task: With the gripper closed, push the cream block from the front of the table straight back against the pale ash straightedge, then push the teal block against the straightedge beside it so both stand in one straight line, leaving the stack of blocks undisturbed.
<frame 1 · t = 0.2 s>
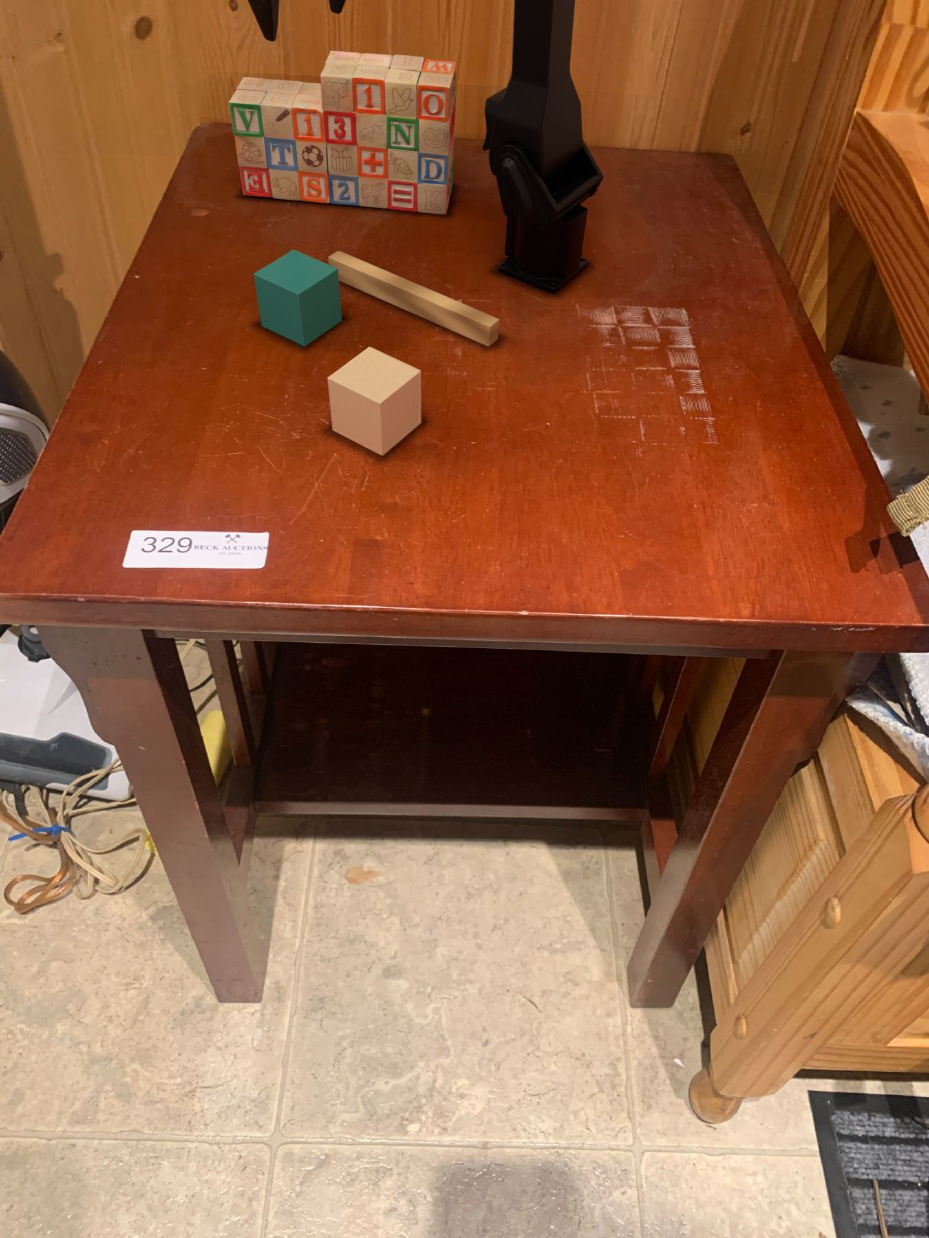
hand: (304, 26, 86), 15 cm above the table, tool pointing down, fingers open, 9 cm apart
rail: (411, 307, 83), on the table
stack of blocks: (349, 194, 96), on the table
teal block: (302, 323, 81), on the table
cream block: (377, 426, 72), on the table
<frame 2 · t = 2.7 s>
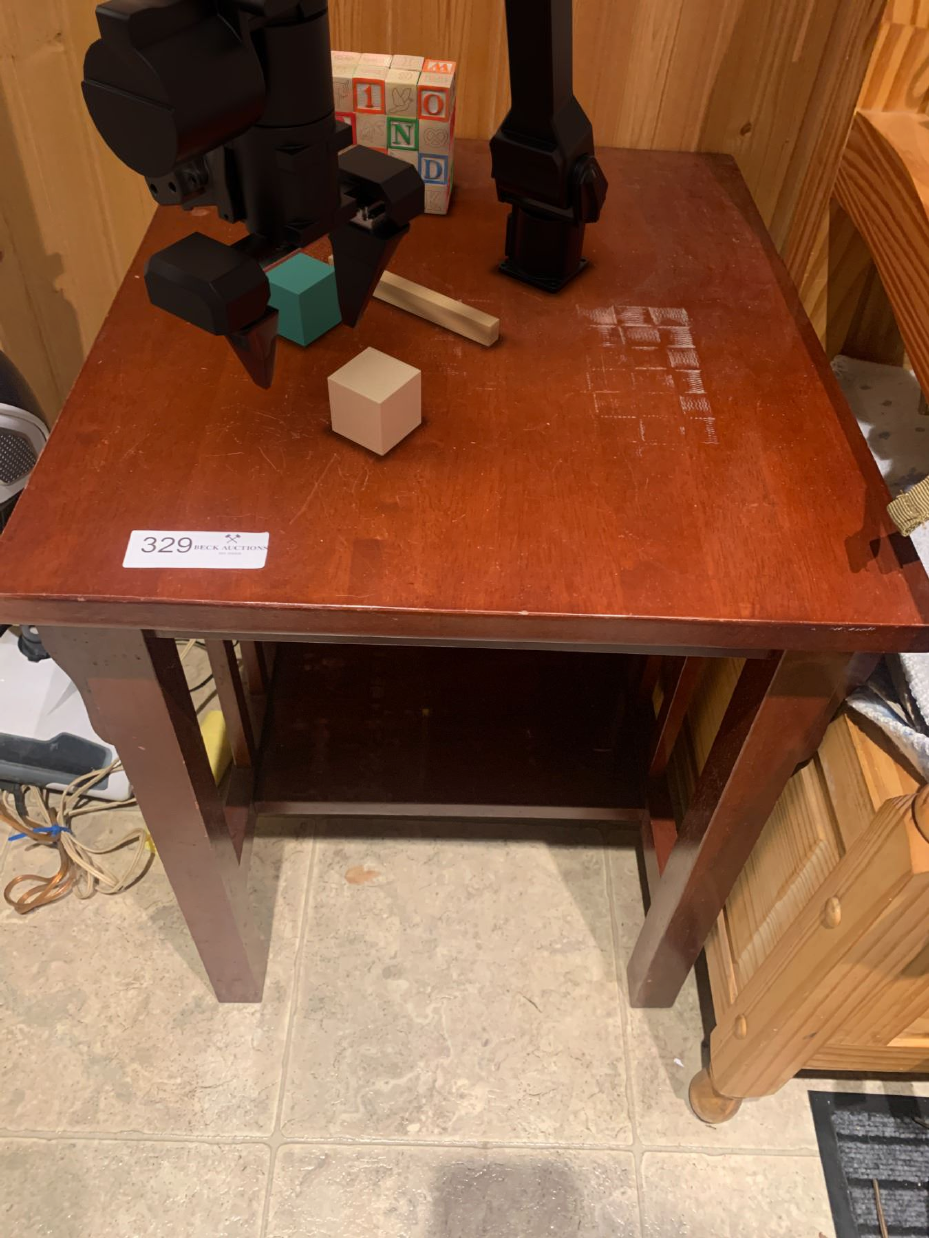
hand: (308, 354, 61), 10 cm above the table, tool pointing down, fingers open, 8 cm apart
nothing on the table moved.
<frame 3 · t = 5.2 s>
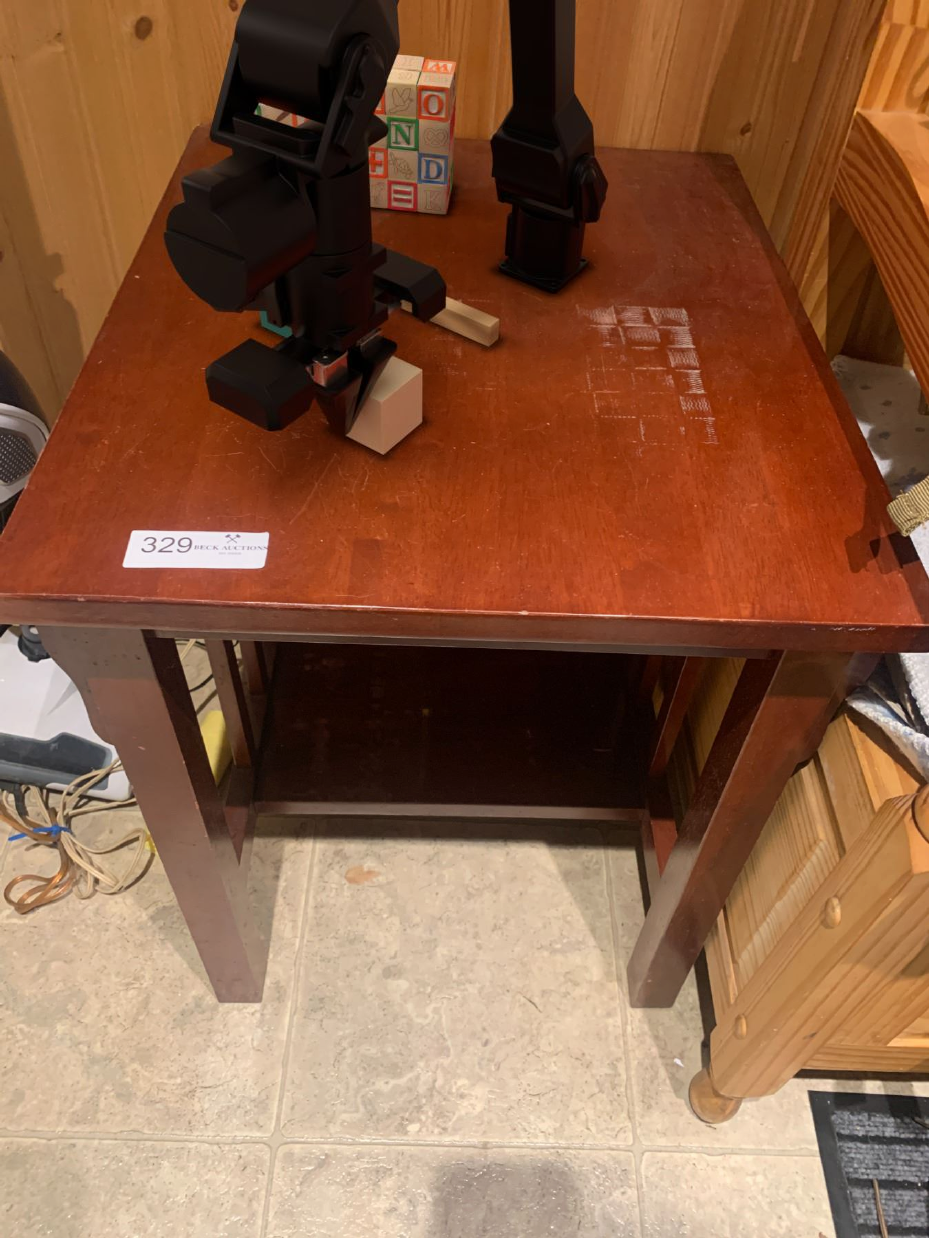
hand: (341, 432, 68), 2 cm above the table, tool pointing down, fingers closed
cream block: (378, 426, 72), on the table, touching gripper
everything else where it was.
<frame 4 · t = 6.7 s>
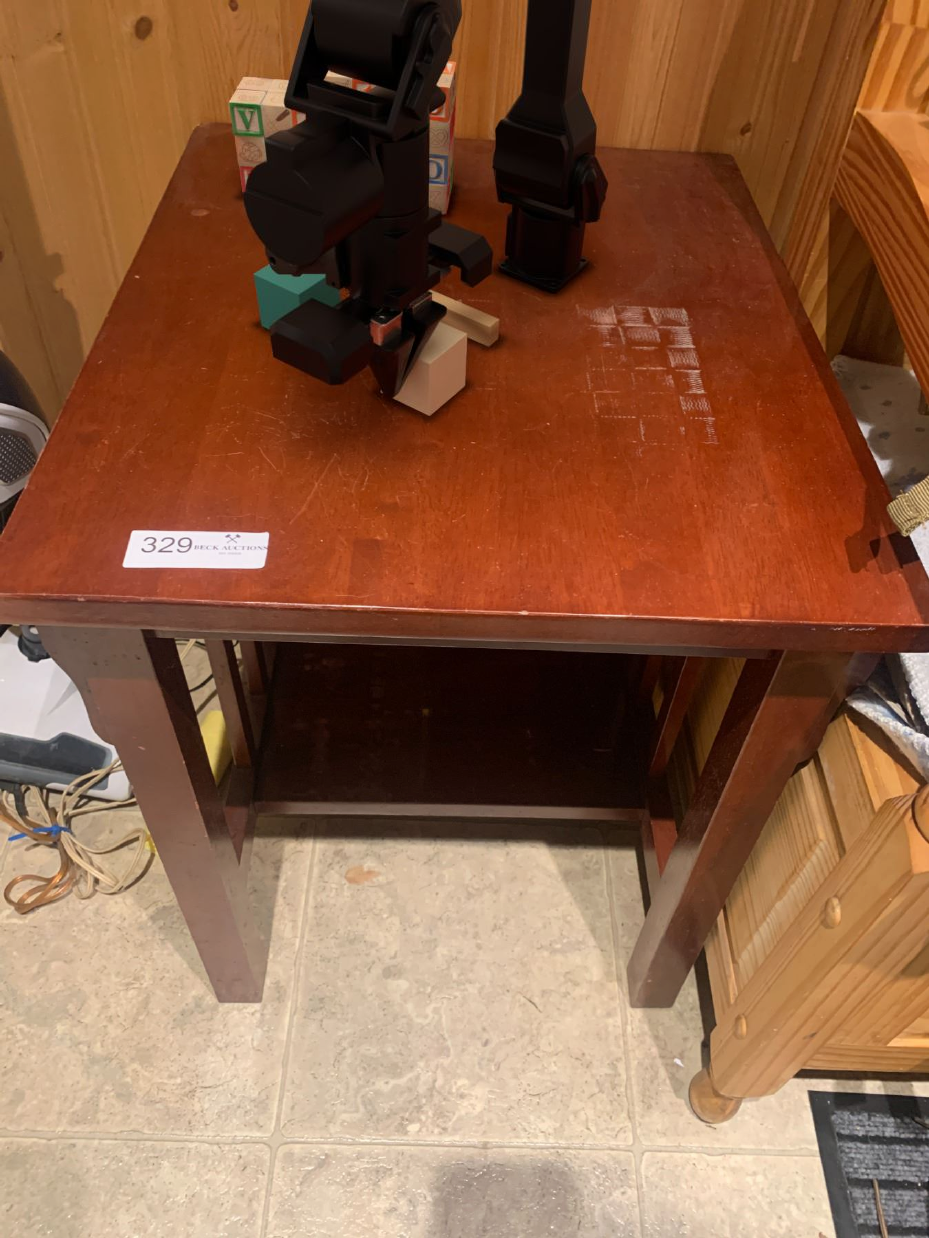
hand: (390, 394, 72), 2 cm above the table, tool pointing down, fingers closed
cream block: (423, 389, 75), on the table, touching gripper
everything else where it was.
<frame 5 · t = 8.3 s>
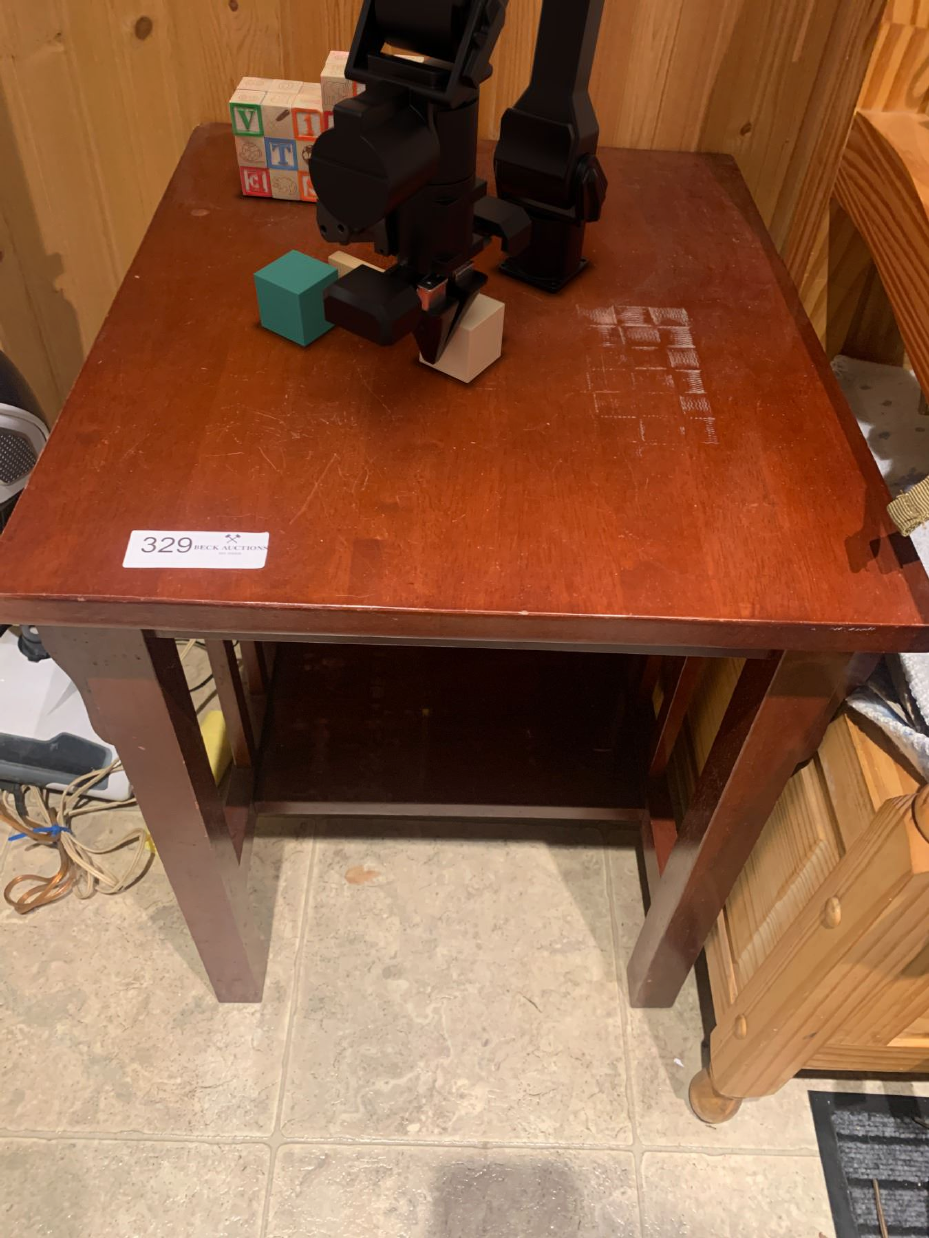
hand: (431, 361, 74), 2 cm above the table, tool pointing down, fingers closed
cream block: (460, 358, 78), on the table, touching gripper
everything else where it was.
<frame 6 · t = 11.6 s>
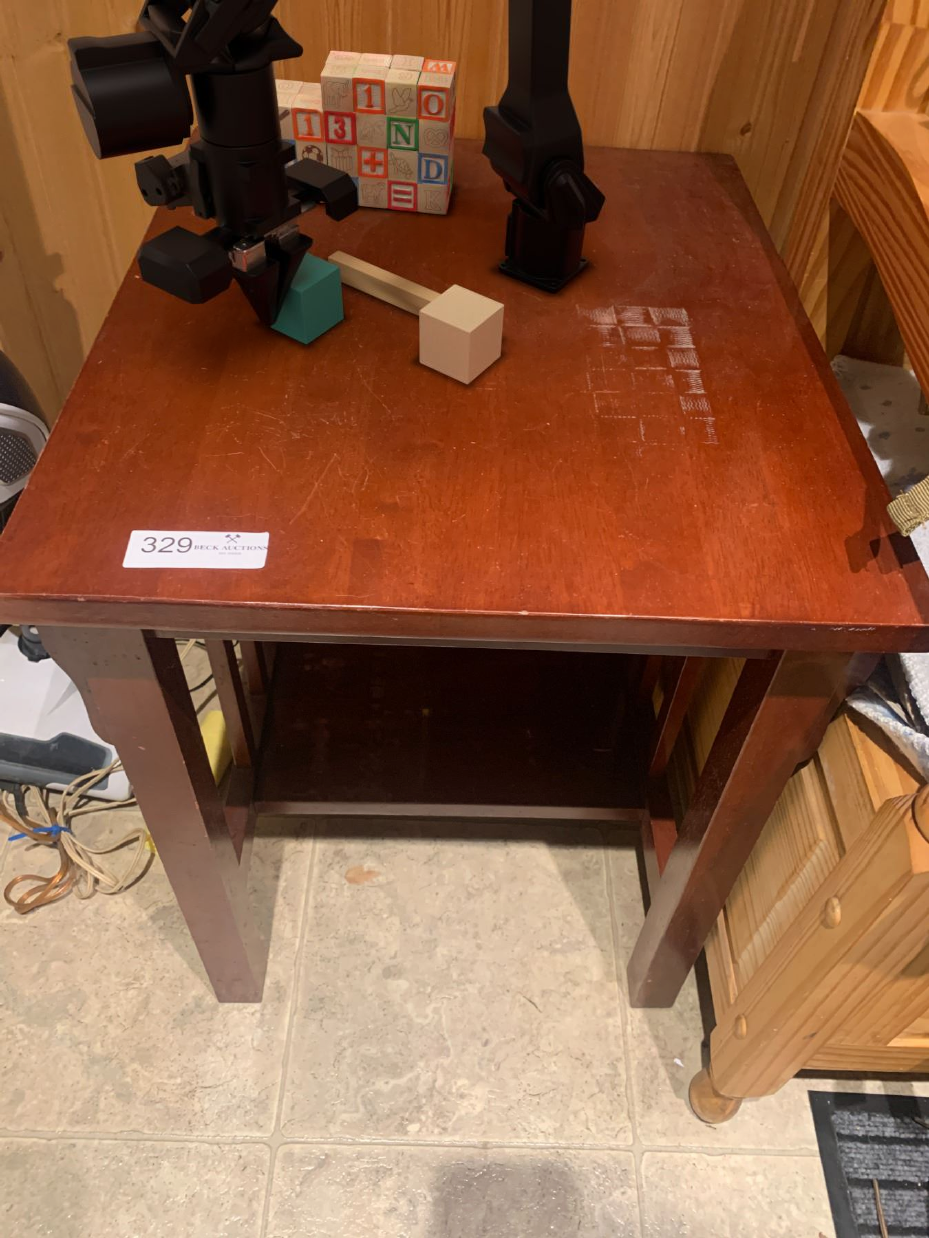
hand: (268, 323, 77), 2 cm above the table, tool pointing down, fingers closed
teal block: (303, 321, 81), on the table, touching gripper
cream block: (460, 359, 78), on the table
everything else where it was.
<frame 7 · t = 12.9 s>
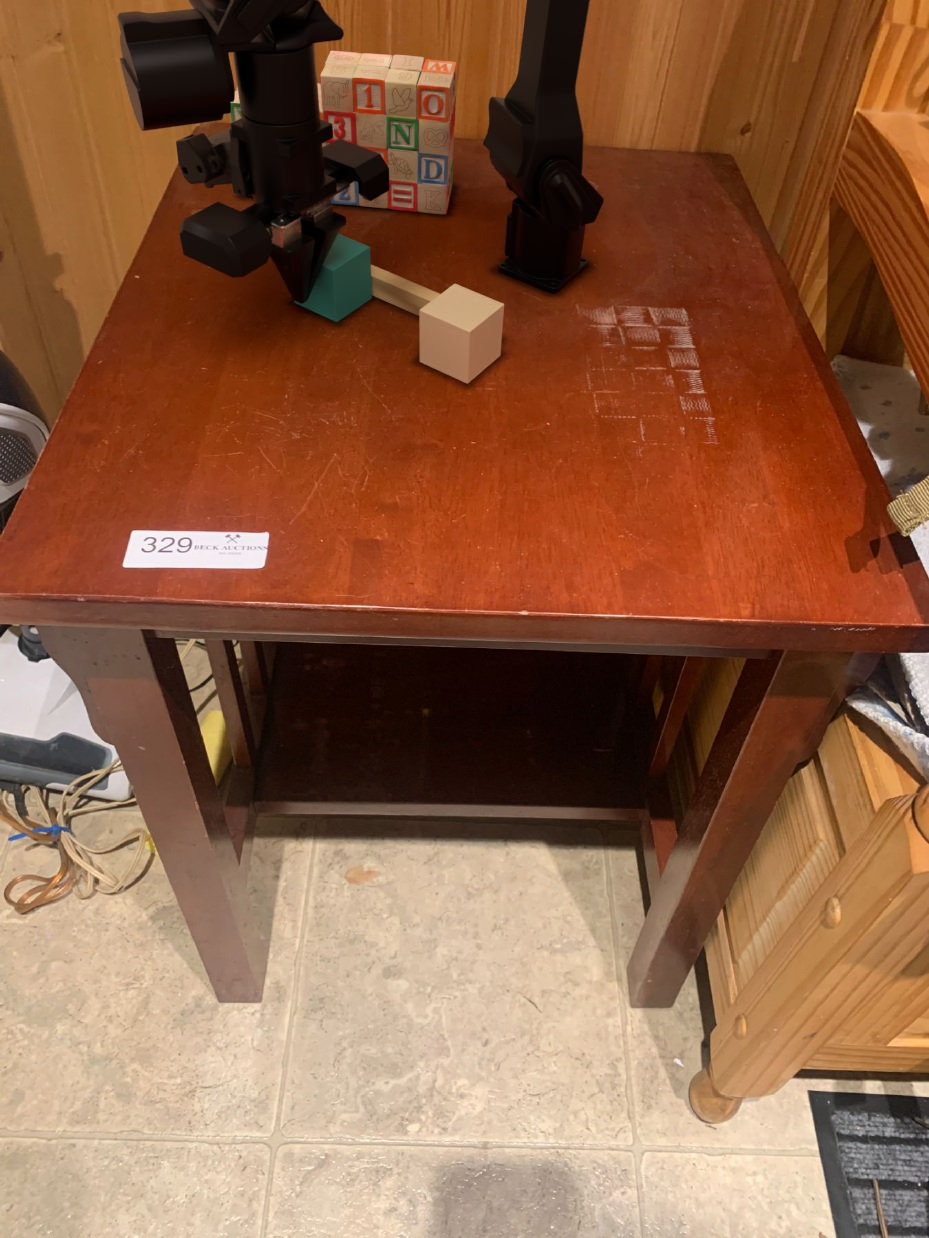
hand: (300, 300, 79), 2 cm above the table, tool pointing down, fingers closed
teal block: (333, 300, 83), on the table, touching gripper
everything else where it was.
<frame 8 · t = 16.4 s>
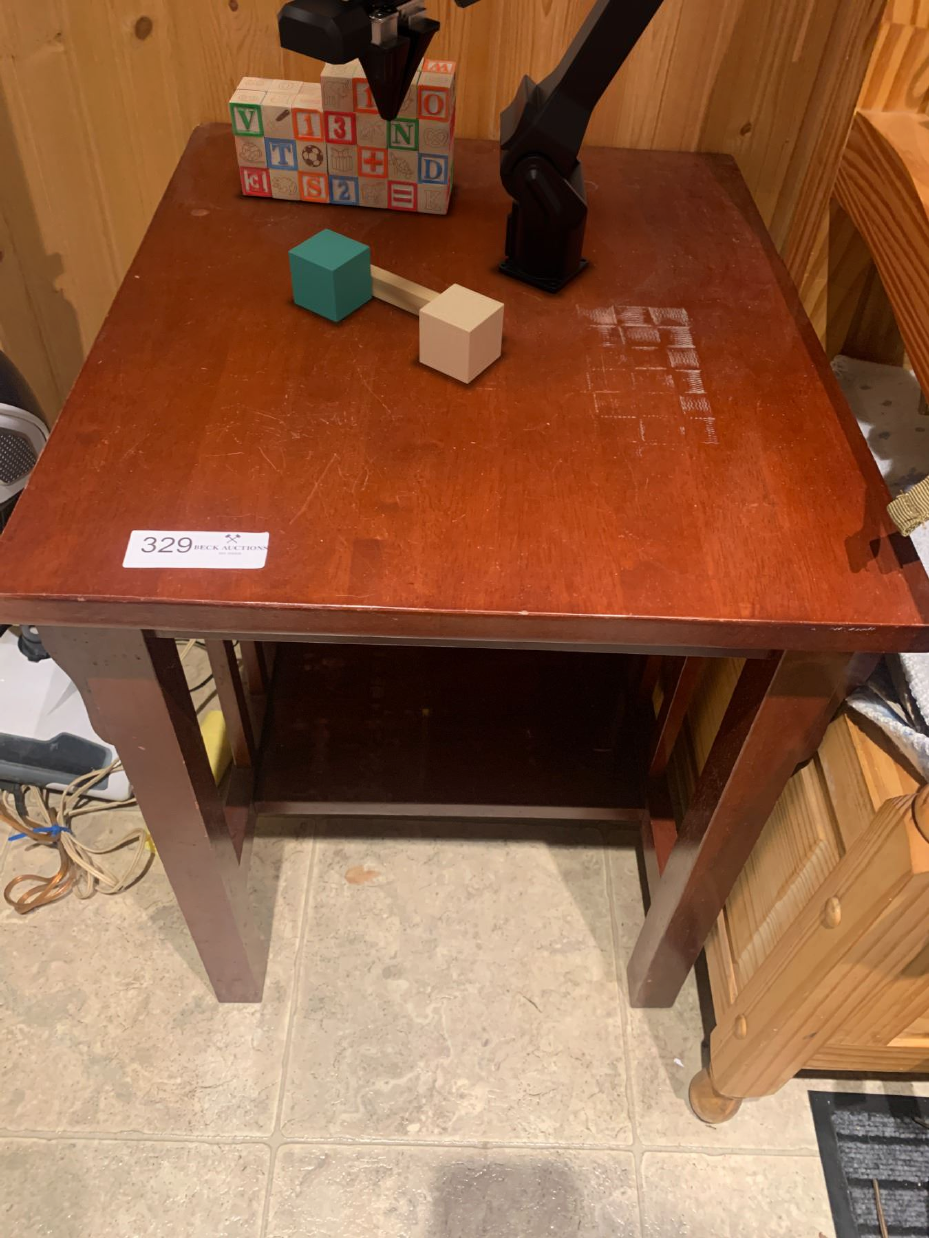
hand: (388, 119, 77), 13 cm above the table, tool pointing down, fingers closed
teal block: (333, 300, 83), on the table
everything else where it was.
at the end: cream block 1.0 cm from the target spot on the table beside the rail, on the table; teal block 0.1 cm from the target spot on the table beside the rail, on the table; stack of blocks moved 0.2 cm from its start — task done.
